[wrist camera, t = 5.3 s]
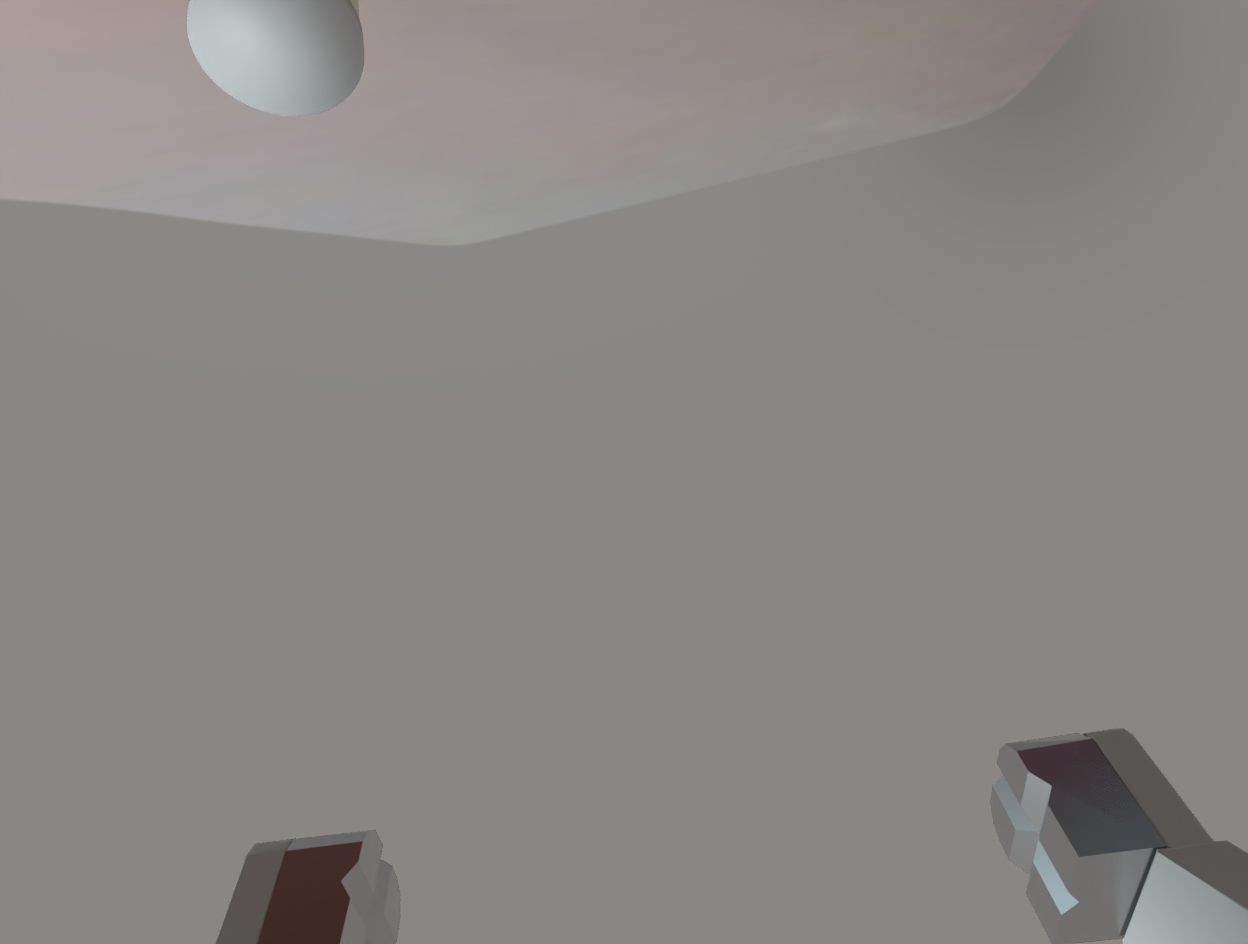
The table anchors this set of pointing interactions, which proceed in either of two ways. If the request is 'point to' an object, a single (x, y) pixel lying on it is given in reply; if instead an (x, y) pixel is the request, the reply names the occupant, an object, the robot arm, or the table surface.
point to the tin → (279, 51)
